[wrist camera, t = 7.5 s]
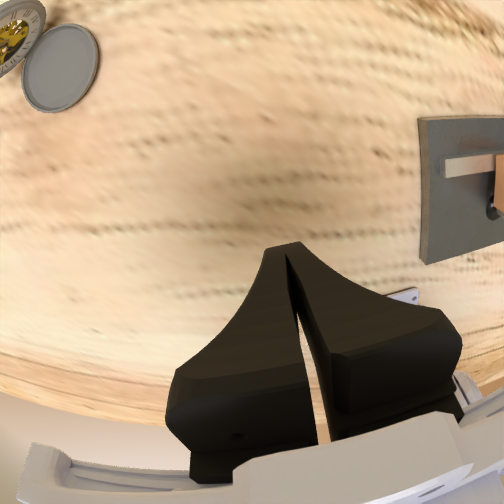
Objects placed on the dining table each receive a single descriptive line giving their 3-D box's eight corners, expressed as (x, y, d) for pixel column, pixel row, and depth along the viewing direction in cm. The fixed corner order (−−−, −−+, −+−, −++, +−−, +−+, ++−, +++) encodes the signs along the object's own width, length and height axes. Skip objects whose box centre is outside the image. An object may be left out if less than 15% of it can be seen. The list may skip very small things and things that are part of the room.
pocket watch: (91, 114, 17) (-5, 143, 8) (8, 109, 16) (-85, 139, 7) (118, 4, 13) (37, -40, 5) (28, 12, 12) (-62, 1, 3)
